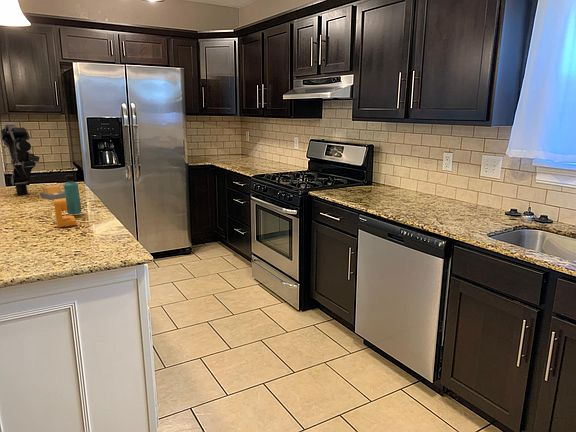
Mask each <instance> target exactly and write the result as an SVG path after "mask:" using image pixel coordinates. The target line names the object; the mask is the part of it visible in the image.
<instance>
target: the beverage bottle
mask: <svg viewBox="0 0 576 432" xmlns="http://www.w3.org/2000/svg"><path fill="white" fill-rule="evenodd" d="M64 180H65V181H66V182H65V183H64V184H63V190H64V191H65V194H64V195H65V198H66V203H67V211H66V212H67V214H68V215H78V214H81V213H82V204H81V198H80V197H81V196H80V190H79V183H78V182H76V181H75V180H76V177H75V175H73V174H66V175H65V176H64ZM65 198H64V199H65Z"/></svg>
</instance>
